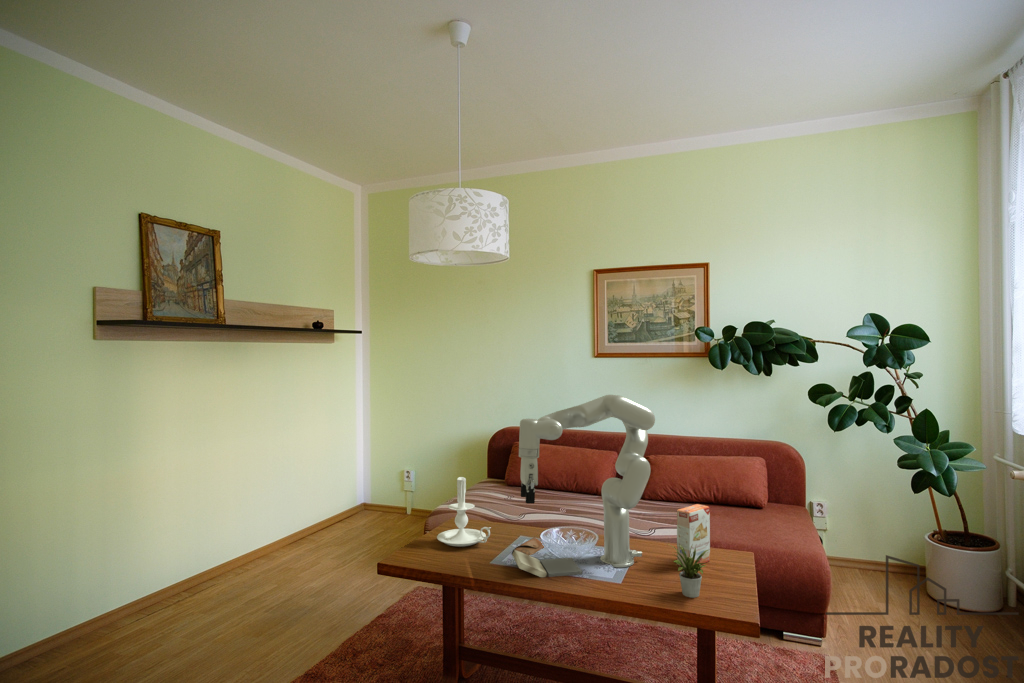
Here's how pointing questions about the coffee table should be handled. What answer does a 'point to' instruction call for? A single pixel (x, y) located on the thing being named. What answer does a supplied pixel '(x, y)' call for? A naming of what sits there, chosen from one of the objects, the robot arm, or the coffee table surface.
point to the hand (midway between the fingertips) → (527, 500)
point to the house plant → (690, 573)
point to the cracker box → (694, 532)
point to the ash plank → (529, 564)
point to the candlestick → (462, 522)
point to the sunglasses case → (530, 546)
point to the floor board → (560, 567)
